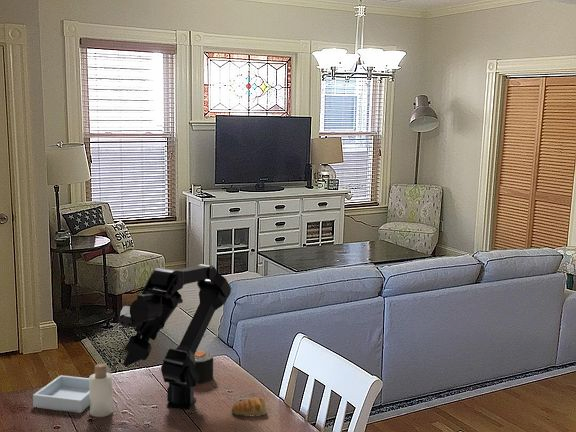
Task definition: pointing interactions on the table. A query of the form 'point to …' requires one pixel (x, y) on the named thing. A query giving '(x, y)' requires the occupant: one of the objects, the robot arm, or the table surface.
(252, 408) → the pastry
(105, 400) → the dressing bottle
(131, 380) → the table surface
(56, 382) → the bin
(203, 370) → the sushi
